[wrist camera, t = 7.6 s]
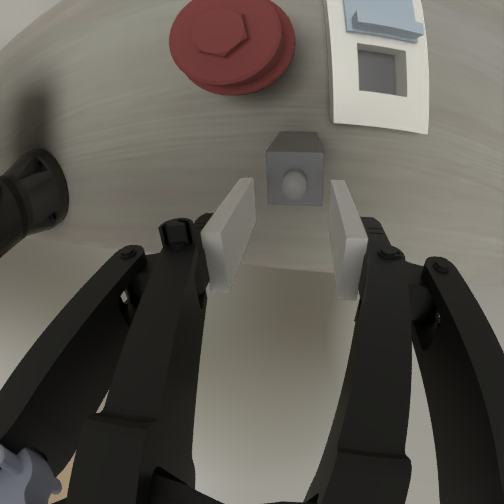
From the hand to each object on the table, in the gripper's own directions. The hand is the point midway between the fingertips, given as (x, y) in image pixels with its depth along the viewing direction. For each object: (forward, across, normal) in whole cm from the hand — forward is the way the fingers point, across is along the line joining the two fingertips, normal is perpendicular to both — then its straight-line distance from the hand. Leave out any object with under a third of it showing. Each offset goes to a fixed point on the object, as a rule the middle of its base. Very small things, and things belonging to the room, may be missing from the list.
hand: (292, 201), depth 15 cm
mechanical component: (+17, -5, +11) cm, 21 cm away
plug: (+17, 0, 0) cm, 17 cm away
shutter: (+12, +9, +16) cm, 22 cm away
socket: (+17, +9, +12) cm, 22 cm away
